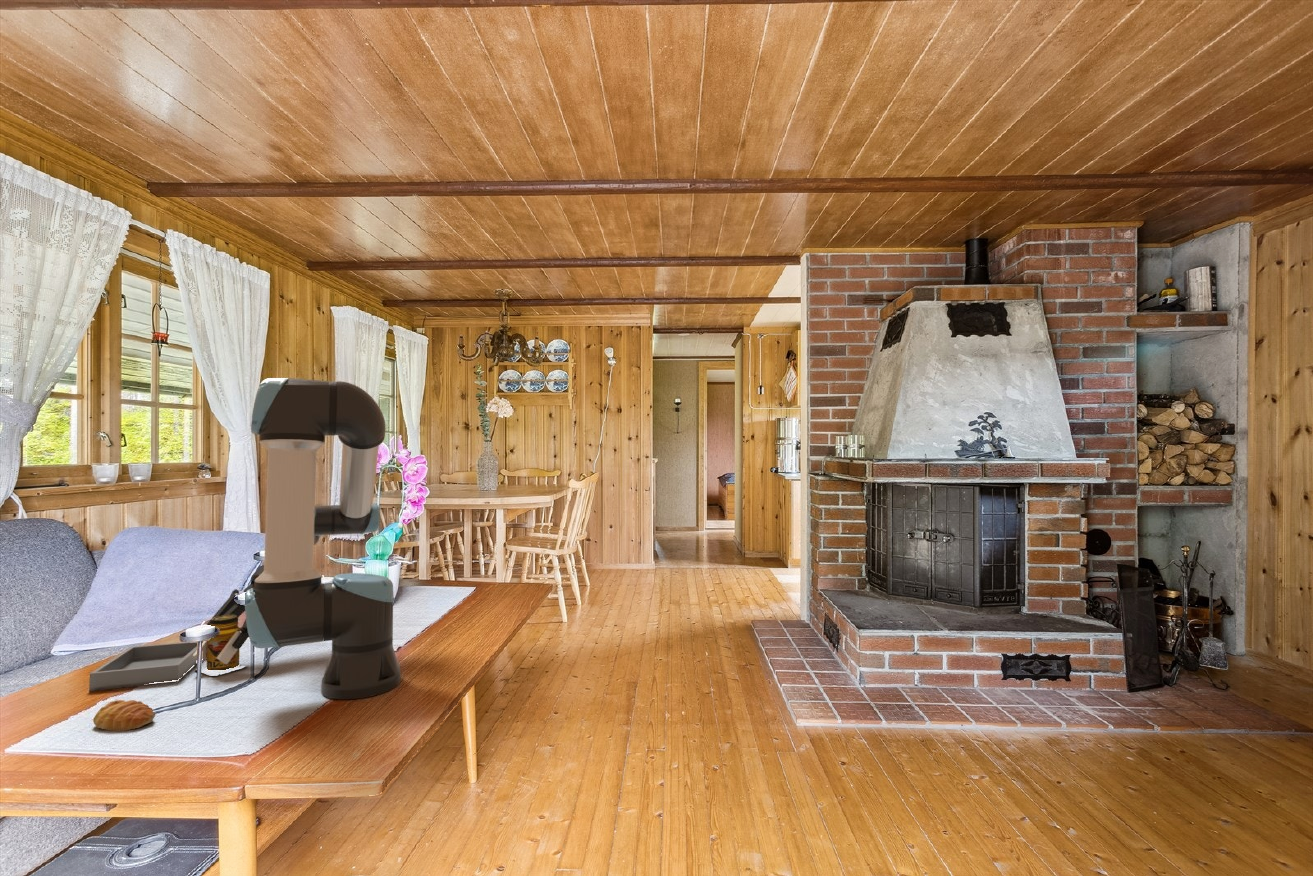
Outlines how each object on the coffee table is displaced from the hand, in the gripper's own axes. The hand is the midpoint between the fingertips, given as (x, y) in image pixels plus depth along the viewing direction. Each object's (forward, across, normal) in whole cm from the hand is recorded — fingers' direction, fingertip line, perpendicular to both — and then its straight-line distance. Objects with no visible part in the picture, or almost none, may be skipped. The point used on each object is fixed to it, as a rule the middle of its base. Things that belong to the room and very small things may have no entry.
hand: (209, 659), depth 134 cm
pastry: (+19, -8, +13) cm, 24 cm away
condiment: (0, +1, -5) cm, 5 cm away
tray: (+3, +14, -1) cm, 15 cm away
